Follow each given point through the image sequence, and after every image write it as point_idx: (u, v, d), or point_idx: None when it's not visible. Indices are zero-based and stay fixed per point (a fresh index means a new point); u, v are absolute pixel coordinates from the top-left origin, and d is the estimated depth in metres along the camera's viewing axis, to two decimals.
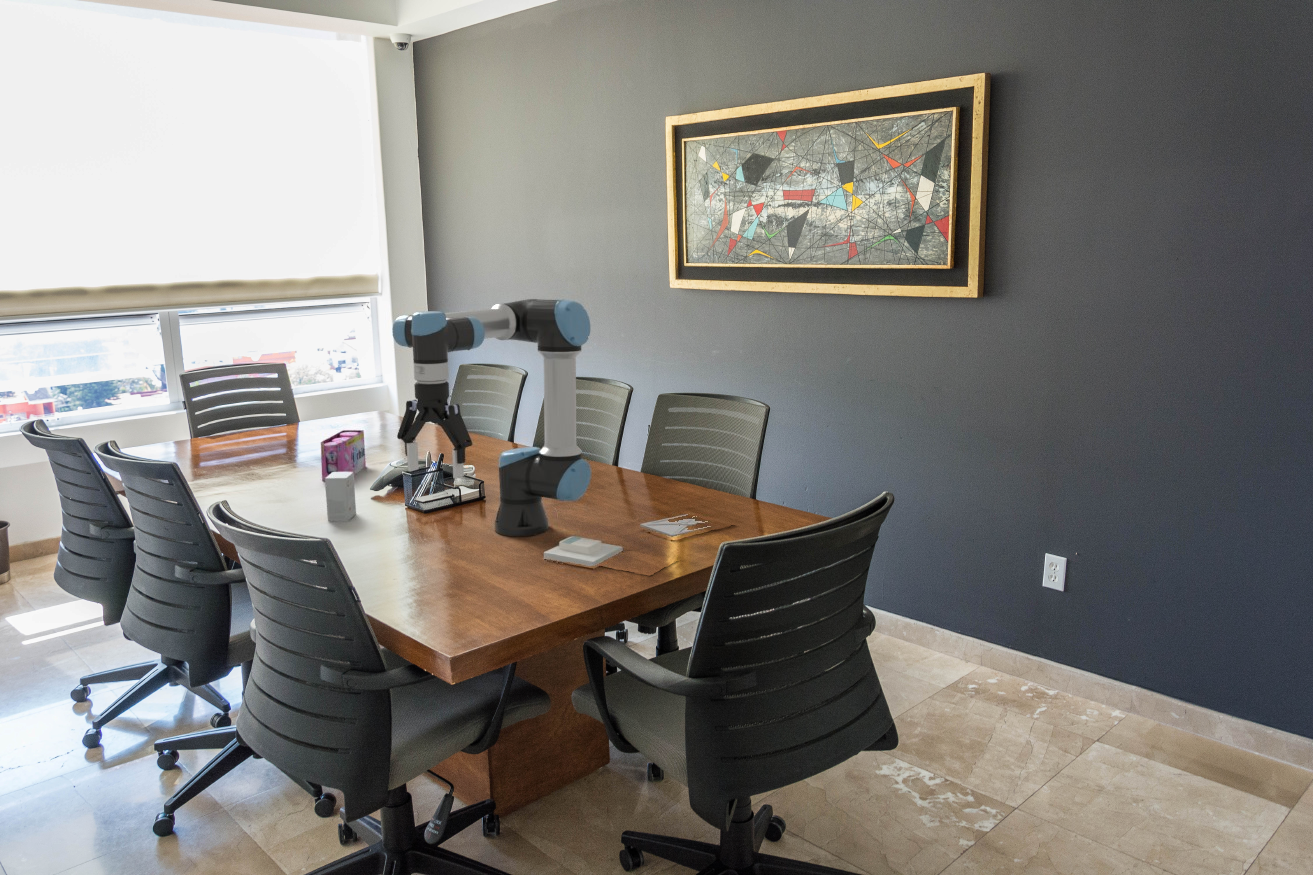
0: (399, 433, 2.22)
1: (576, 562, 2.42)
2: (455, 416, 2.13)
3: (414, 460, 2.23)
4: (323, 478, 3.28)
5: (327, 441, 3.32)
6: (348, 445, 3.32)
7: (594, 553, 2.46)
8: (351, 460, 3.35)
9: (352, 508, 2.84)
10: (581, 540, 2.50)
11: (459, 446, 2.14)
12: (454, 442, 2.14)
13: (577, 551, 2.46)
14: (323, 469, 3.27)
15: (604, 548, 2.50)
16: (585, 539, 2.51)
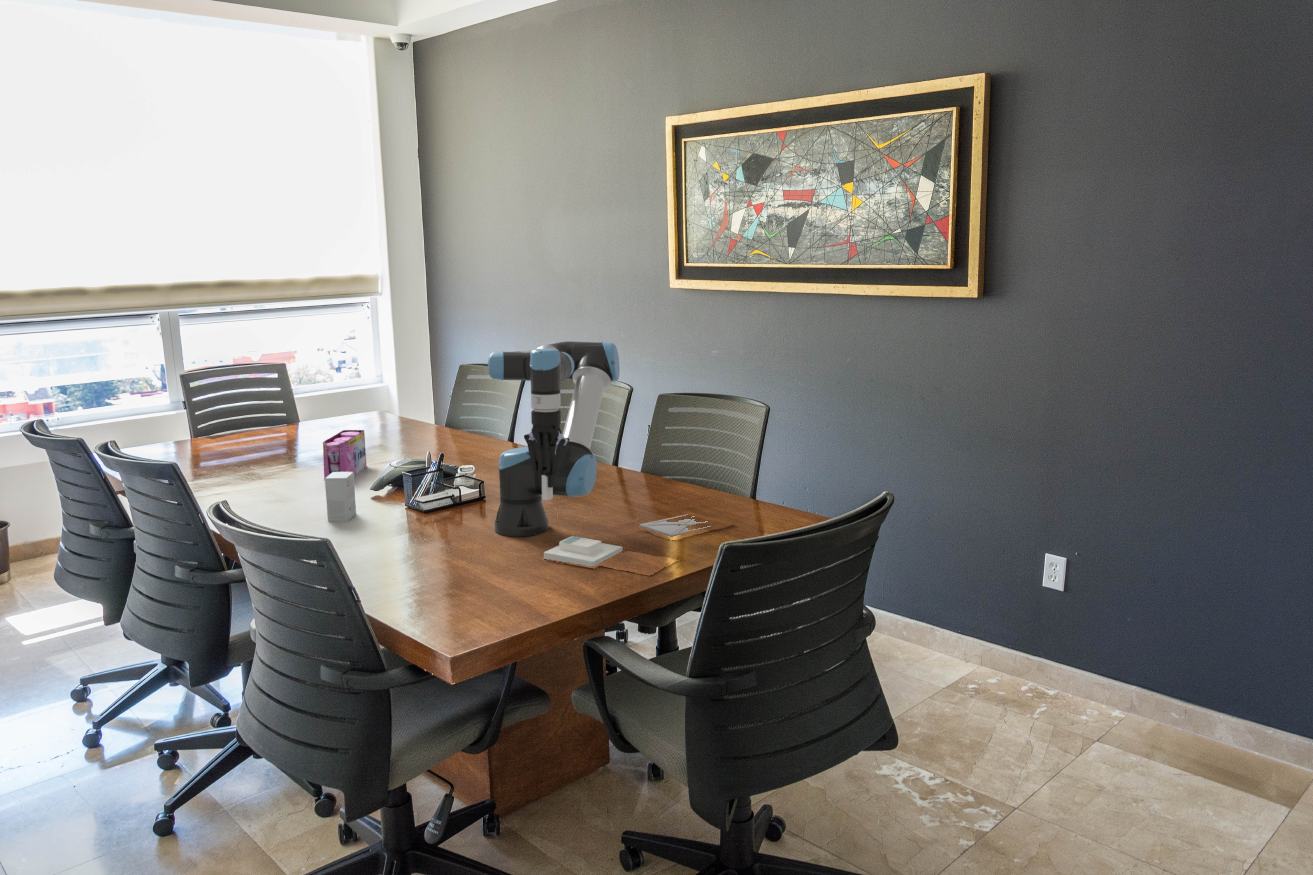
0: (533, 466, 2.51)
1: (576, 562, 2.42)
2: (561, 448, 2.46)
3: None
4: None
5: (329, 441, 3.32)
6: (350, 445, 3.32)
7: (594, 553, 2.46)
8: (353, 460, 3.35)
9: (352, 508, 2.84)
10: (581, 540, 2.50)
11: (550, 474, 2.48)
12: (548, 468, 2.48)
13: (577, 551, 2.46)
14: (325, 469, 3.27)
15: (604, 548, 2.50)
16: (585, 539, 2.51)
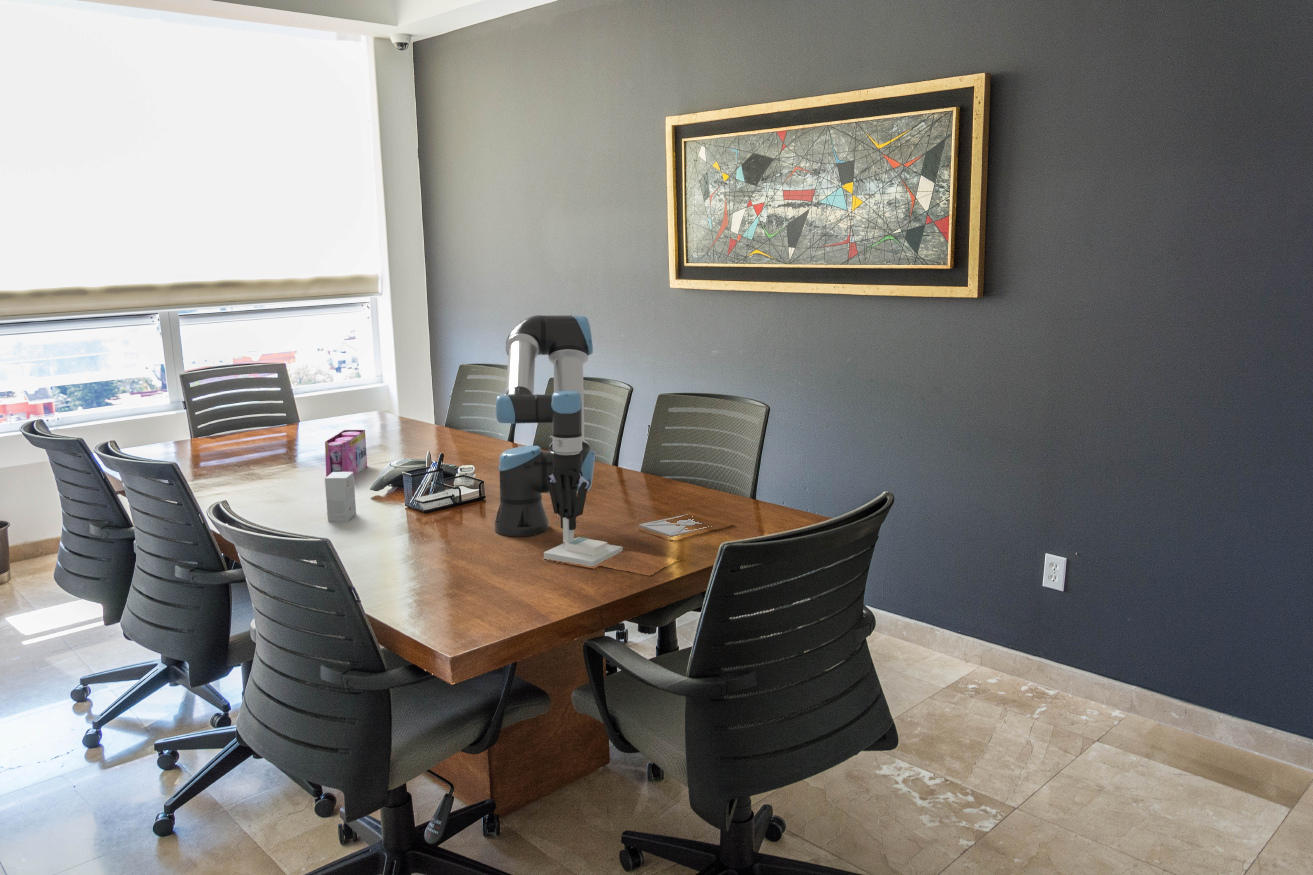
0: (554, 508, 2.49)
1: (576, 562, 2.42)
2: (583, 491, 2.45)
3: None
4: None
5: (330, 441, 3.33)
6: (352, 444, 3.33)
7: None
8: (355, 459, 3.35)
9: (352, 508, 2.84)
10: (587, 541, 2.49)
11: (571, 517, 2.47)
12: (570, 511, 2.47)
13: (583, 552, 2.45)
14: (327, 469, 3.28)
15: None
16: (591, 540, 2.50)
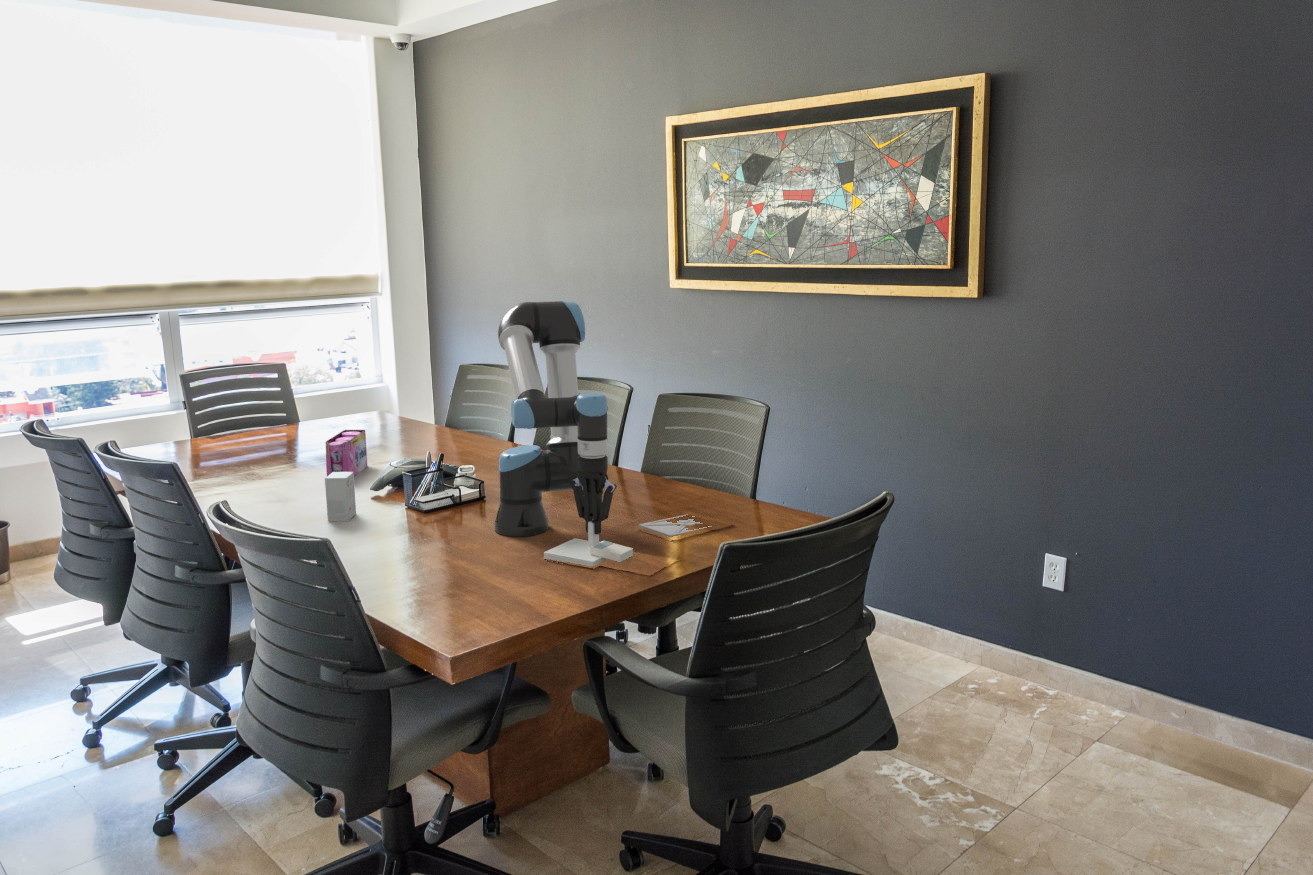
0: (579, 512, 2.46)
1: (576, 562, 2.42)
2: (609, 495, 2.41)
3: None
4: None
5: (331, 441, 3.33)
6: (353, 444, 3.33)
7: None
8: (355, 459, 3.36)
9: (352, 508, 2.84)
10: (612, 545, 2.45)
11: (597, 521, 2.44)
12: (595, 515, 2.43)
13: (608, 557, 2.42)
14: (328, 469, 3.28)
15: None
16: (616, 545, 2.46)
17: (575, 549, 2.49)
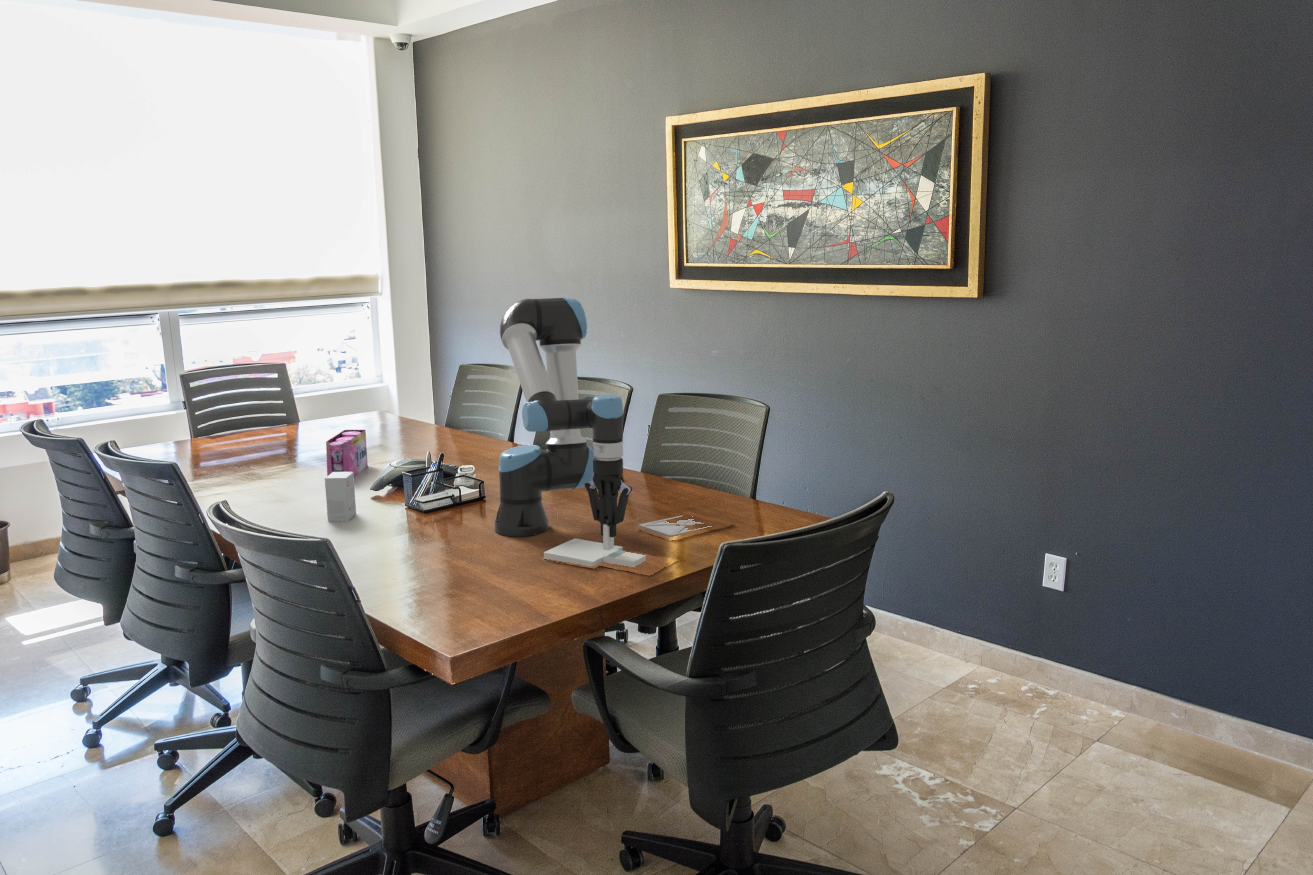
0: (594, 515, 2.44)
1: (576, 562, 2.42)
2: (624, 497, 2.39)
3: None
4: None
5: (331, 441, 3.33)
6: (353, 444, 3.33)
7: (594, 553, 2.46)
8: (355, 459, 3.36)
9: (352, 508, 2.84)
10: (625, 554, 2.44)
11: (612, 523, 2.42)
12: (610, 518, 2.41)
13: None
14: (328, 469, 3.28)
15: None
16: (629, 553, 2.44)
17: (575, 549, 2.49)
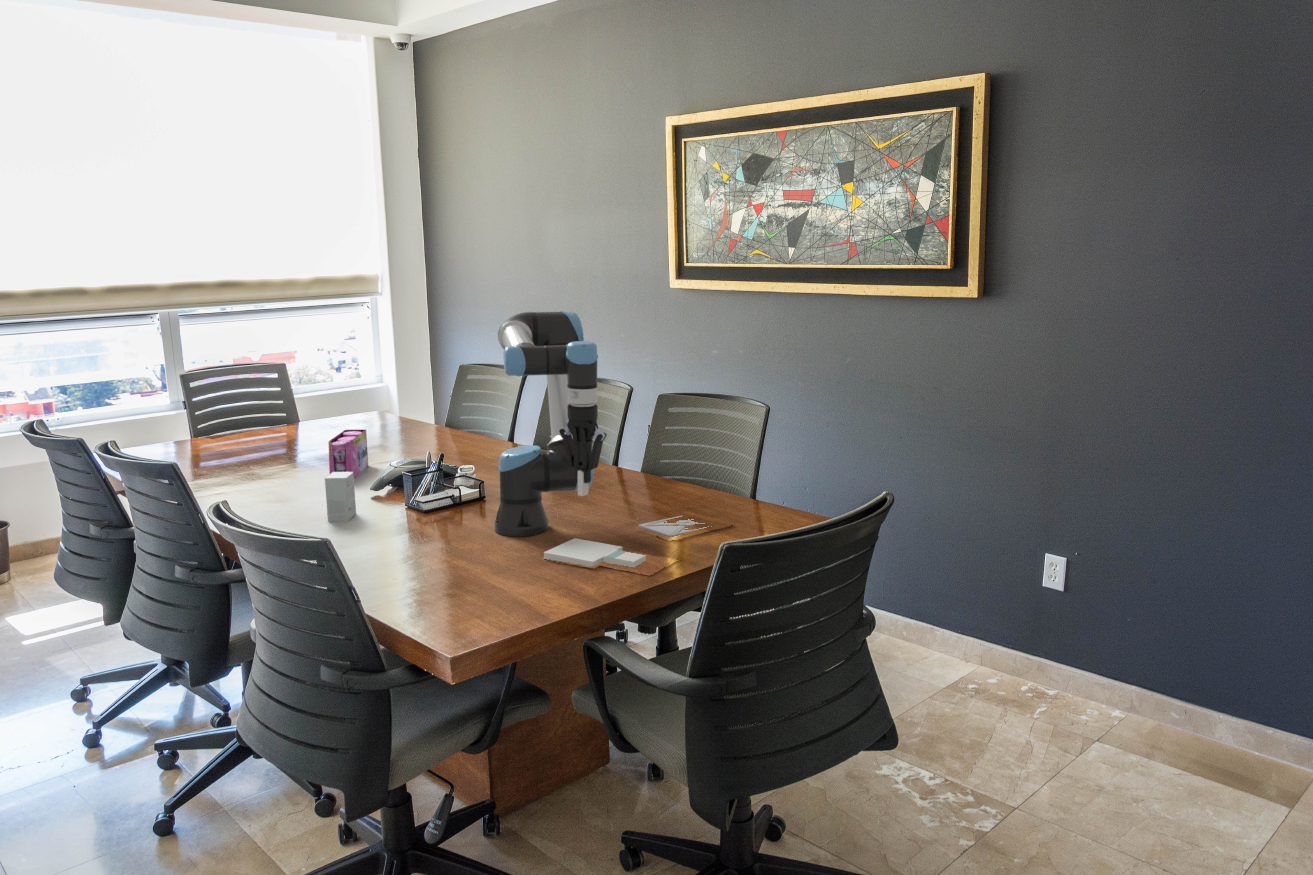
0: (568, 461, 2.45)
1: (576, 562, 2.42)
2: (598, 443, 2.41)
3: None
4: None
5: (333, 440, 3.33)
6: (355, 444, 3.33)
7: (594, 553, 2.46)
8: (357, 459, 3.36)
9: (352, 508, 2.84)
10: (625, 554, 2.44)
11: (586, 469, 2.43)
12: (585, 464, 2.43)
13: None
14: (331, 468, 3.28)
15: (604, 548, 2.50)
16: (629, 553, 2.44)
17: (575, 549, 2.49)
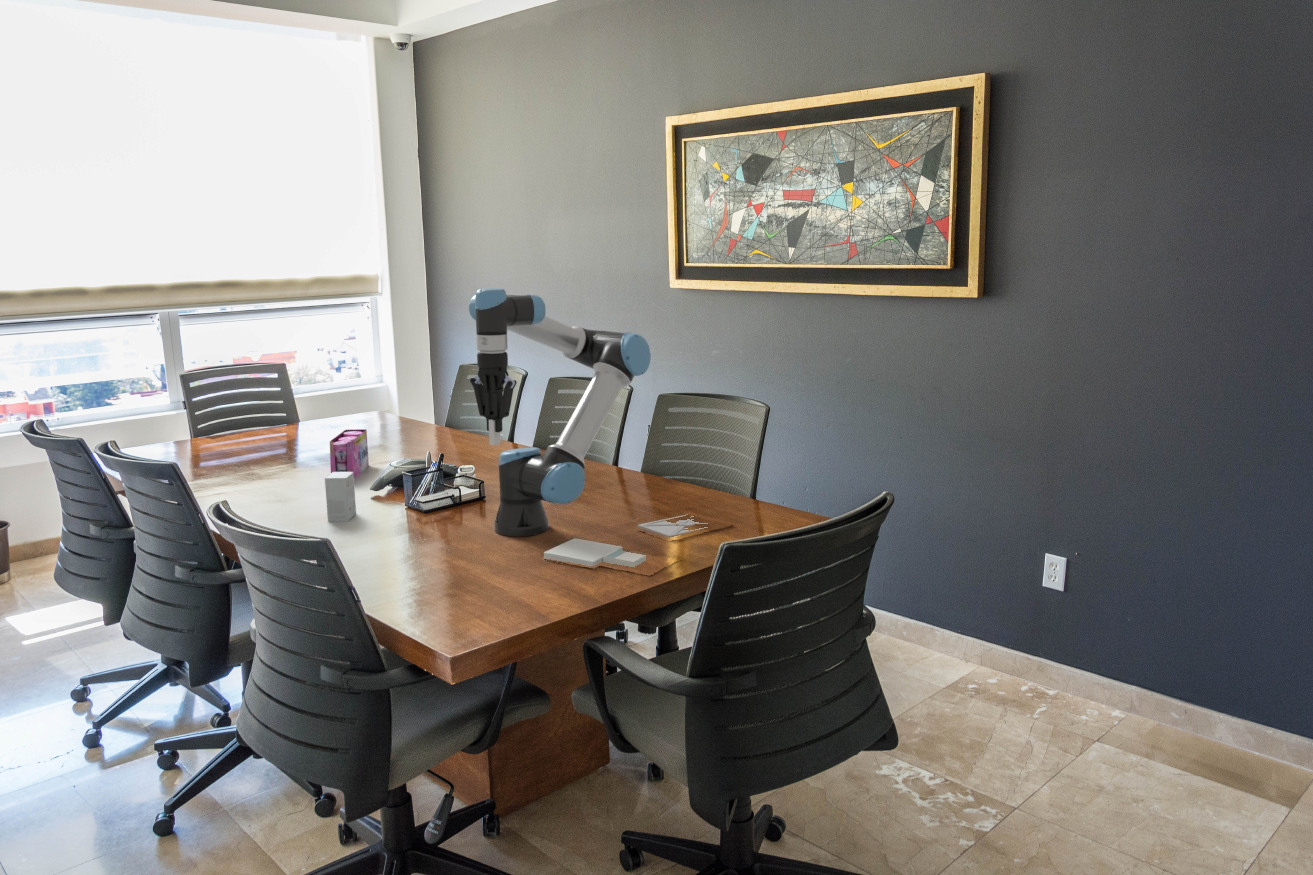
0: (480, 410, 2.44)
1: (576, 562, 2.42)
2: (508, 391, 2.39)
3: None
4: None
5: (334, 440, 3.33)
6: (356, 444, 3.33)
7: (594, 553, 2.46)
8: (358, 459, 3.36)
9: (352, 508, 2.84)
10: (625, 554, 2.44)
11: (497, 418, 2.42)
12: (495, 412, 2.42)
13: None
14: (332, 468, 3.28)
15: (604, 548, 2.50)
16: (629, 553, 2.44)
17: (575, 549, 2.49)
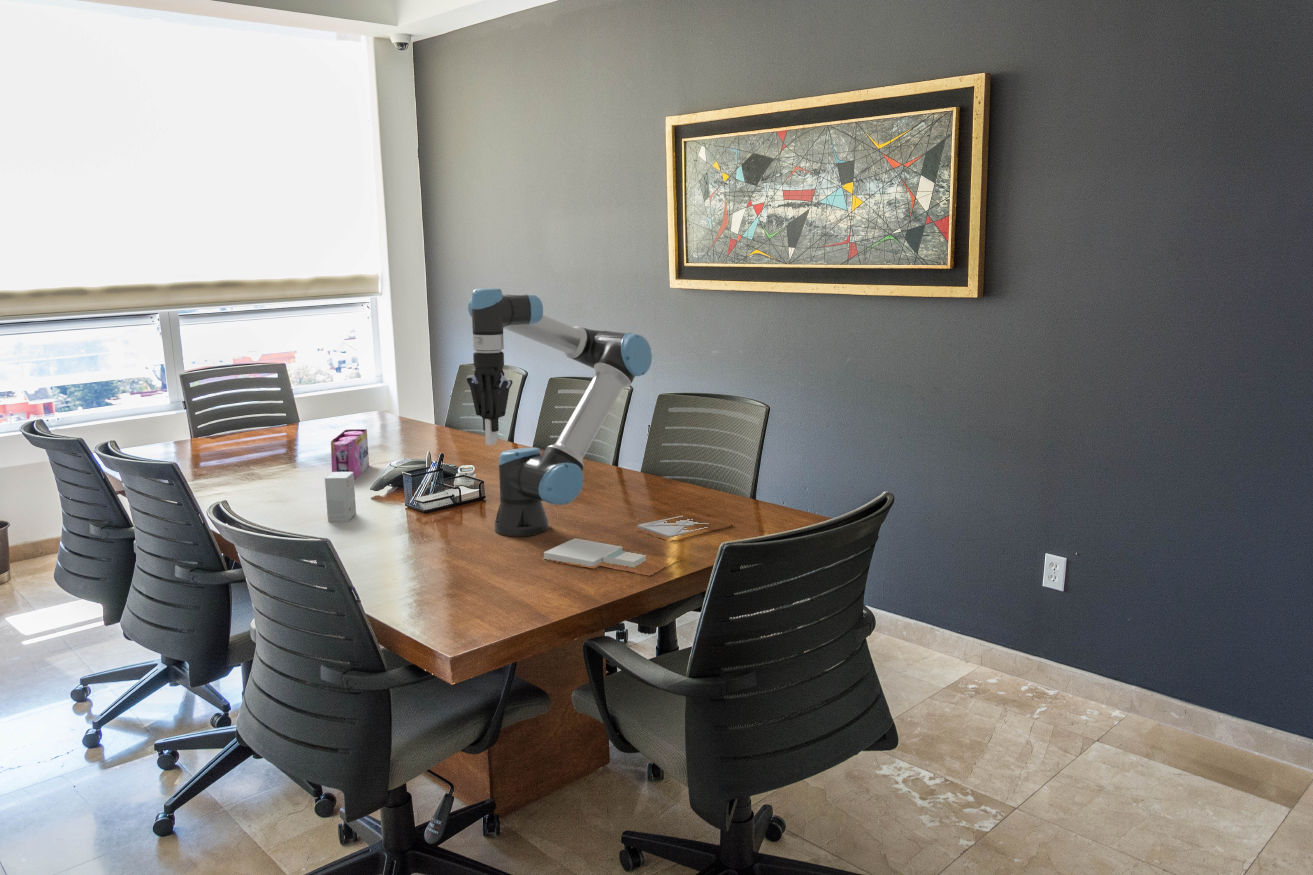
0: (476, 410, 2.44)
1: (576, 562, 2.42)
2: (504, 390, 2.39)
3: None
4: None
5: (335, 440, 3.33)
6: (357, 444, 3.34)
7: (594, 553, 2.46)
8: (359, 459, 3.37)
9: (352, 508, 2.84)
10: (625, 554, 2.44)
11: (493, 418, 2.42)
12: (491, 412, 2.42)
13: None
14: (333, 468, 3.29)
15: (604, 548, 2.50)
16: (629, 553, 2.44)
17: (575, 549, 2.49)
